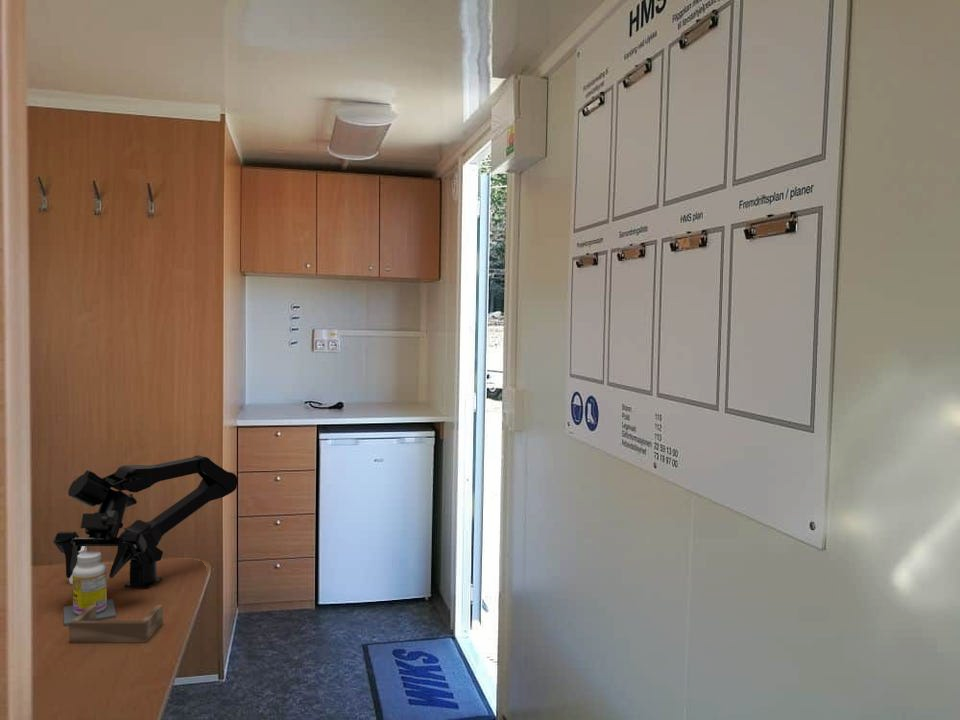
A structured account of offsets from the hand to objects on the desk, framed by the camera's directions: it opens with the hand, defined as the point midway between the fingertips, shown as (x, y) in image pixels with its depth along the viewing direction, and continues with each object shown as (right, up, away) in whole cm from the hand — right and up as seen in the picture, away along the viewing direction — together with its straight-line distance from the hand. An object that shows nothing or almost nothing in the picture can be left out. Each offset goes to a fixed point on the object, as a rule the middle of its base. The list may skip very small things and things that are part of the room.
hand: (89, 577), depth 163 cm
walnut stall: (+10, -9, -9) cm, 16 cm away
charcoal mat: (0, -8, +1) cm, 8 cm away
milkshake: (-13, -7, +19) cm, 24 cm away
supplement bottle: (0, -8, +1) cm, 8 cm away
